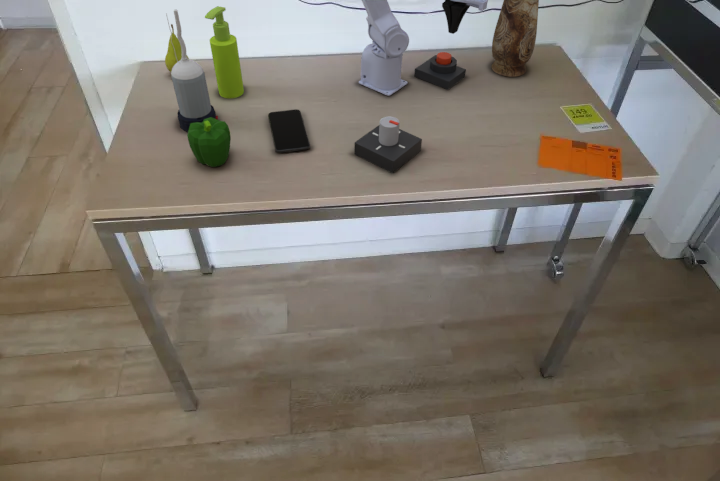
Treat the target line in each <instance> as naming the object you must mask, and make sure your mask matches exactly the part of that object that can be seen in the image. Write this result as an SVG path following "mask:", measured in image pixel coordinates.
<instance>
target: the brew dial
mask: <svg viewBox="0 0 720 481" xmlns="http://www.w3.org/2000/svg"><path fill="white" fill-rule="evenodd" d="M400 122H401V121H400V120H399V118H397V117H395V116H383V117H381V118H380V120H379V124H378V125H379V142H380V143H381V144H382V145H385V146H393V145H395V144H397V143H398V136H399V129H400Z"/></svg>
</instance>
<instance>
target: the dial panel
mask: <svg viewBox="0 0 720 481" xmlns="http://www.w3.org/2000/svg"><path fill="white" fill-rule="evenodd" d="M379 125H380V124H378V125H377V126H375V127H374V128H373V129H371V130H370V131H368V132H367V133H366V134H364V135H363V136H362V137H361V138H359V139H357V140H356V141H354V148H353V149H354V155H355V156H357V157H359V158H361V159H363V160H365V161H367V162H369V163H370V164H373V165H375V166H377V167H379V168H381V169H382V170H385V171H387V172H389V173H392V174H394V173H395V172H397V171H398V170H399V169H400V168H402V167H403V166H404V165H405V164H407V163H408V162H409V161H410V160H411V159H413V158H414V157H415V156H416V155H417V154H418V153H420V152H421V151H422V144H423V139H422V138H421V137H419V136H417V135H415V134H413V133H409V132H407V131H405V130H403V129H402V128H399V136H398V143H397V144H395V145H393V146H385V145H382V144H381V143H380V142H379Z"/></svg>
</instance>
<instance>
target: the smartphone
mask: <svg viewBox="0 0 720 481" xmlns="http://www.w3.org/2000/svg"><path fill="white" fill-rule="evenodd" d="M267 116H268V122H269V127H270V132H271V136H272V141H273V146H274V151H275V152H276V153H278V154H282V153H291V152H298V151H306V150H309V149H310V148H311V144H310V140H309V137H308V132H307V129H306V126H305V122H304V118H303V115H302V112H301V110H300V109H287V110H278V111H270V112H269V113H268V114H267Z"/></svg>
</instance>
